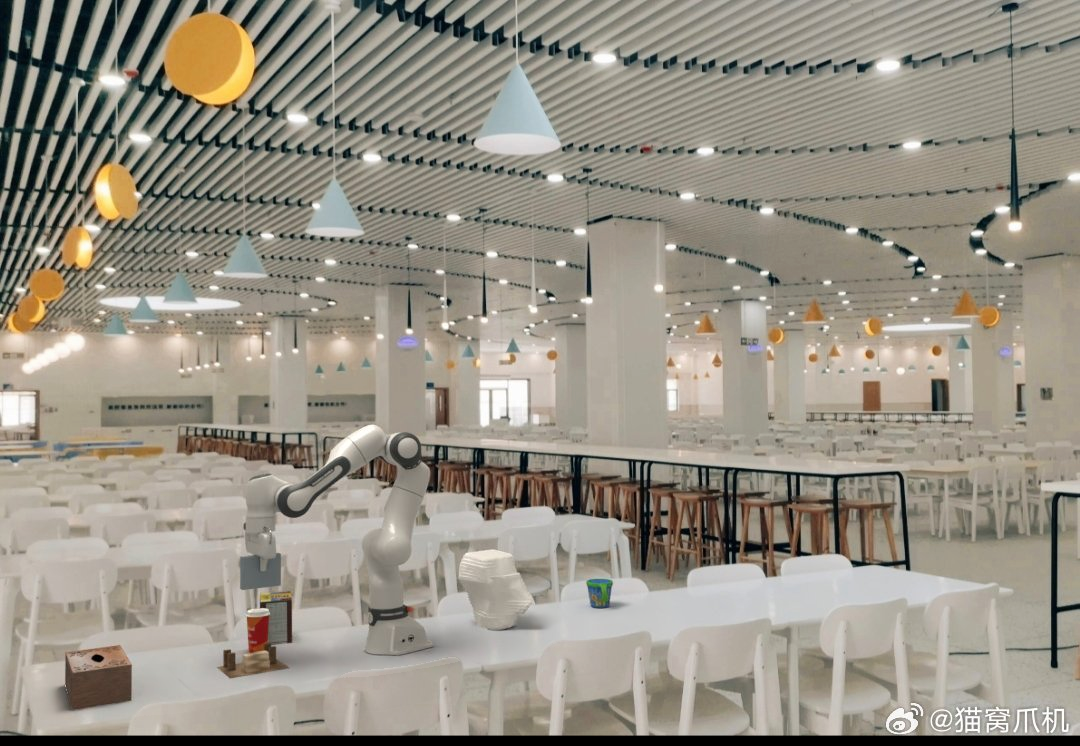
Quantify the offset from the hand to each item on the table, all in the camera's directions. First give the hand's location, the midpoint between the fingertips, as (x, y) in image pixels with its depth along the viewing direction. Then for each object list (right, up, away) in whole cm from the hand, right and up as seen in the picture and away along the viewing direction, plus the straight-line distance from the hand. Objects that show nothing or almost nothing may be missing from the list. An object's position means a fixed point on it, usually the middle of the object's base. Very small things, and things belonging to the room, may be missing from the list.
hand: (260, 570), depth 283 cm
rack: (0, -29, -8) cm, 30 cm away
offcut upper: (+2, -25, -11) cm, 28 cm away
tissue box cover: (-37, -29, -29) cm, 55 cm away
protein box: (-3, -31, +27) cm, 41 cm away
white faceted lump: (+71, -30, +45) cm, 89 cm away
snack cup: (+112, -31, +75) cm, 138 cm away
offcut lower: (+2, -28, -11) cm, 30 cm away
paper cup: (-4, -30, +11) cm, 32 cm away
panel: (0, -5, 0) cm, 5 cm away
